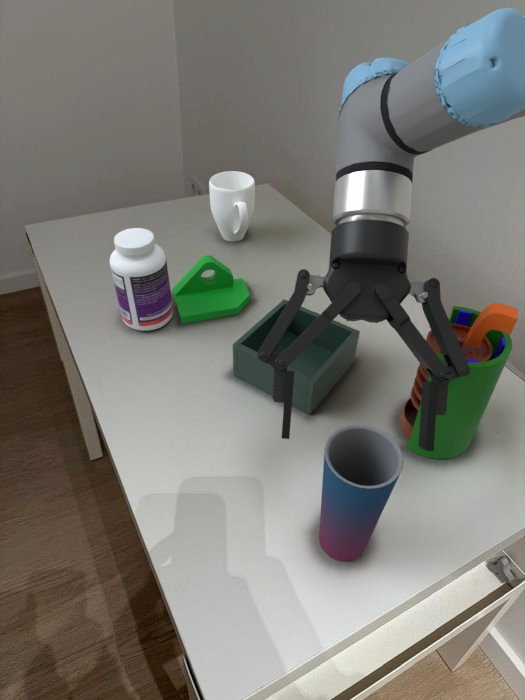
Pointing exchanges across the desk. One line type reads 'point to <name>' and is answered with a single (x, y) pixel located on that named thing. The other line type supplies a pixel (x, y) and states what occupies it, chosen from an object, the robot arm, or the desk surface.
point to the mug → (232, 203)
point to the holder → (309, 366)
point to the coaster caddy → (464, 379)
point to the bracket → (209, 292)
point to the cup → (355, 487)
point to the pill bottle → (141, 280)
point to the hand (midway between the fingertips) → (355, 443)
